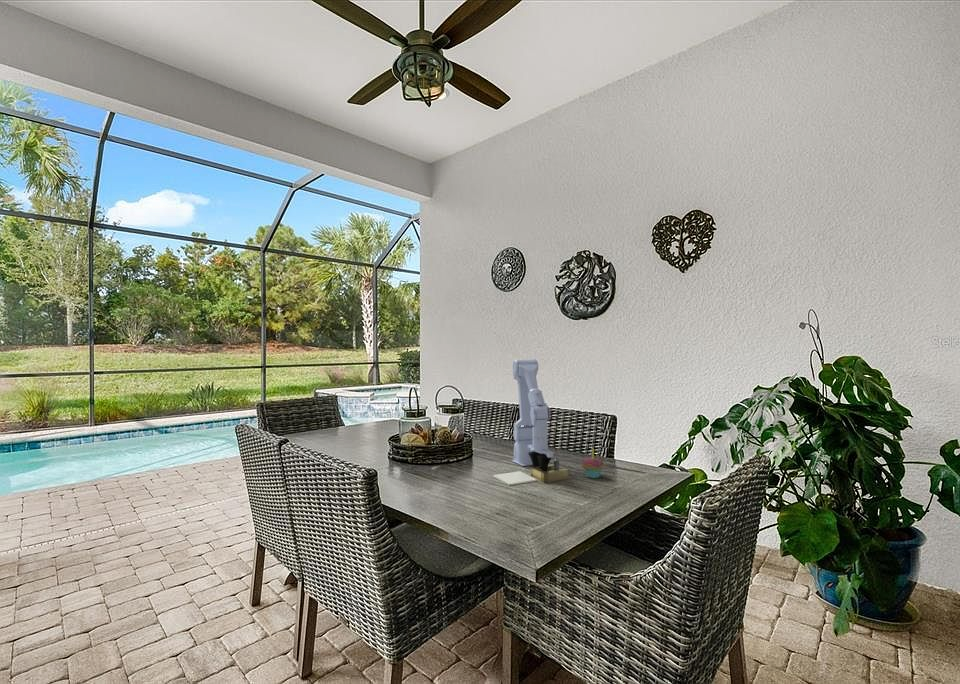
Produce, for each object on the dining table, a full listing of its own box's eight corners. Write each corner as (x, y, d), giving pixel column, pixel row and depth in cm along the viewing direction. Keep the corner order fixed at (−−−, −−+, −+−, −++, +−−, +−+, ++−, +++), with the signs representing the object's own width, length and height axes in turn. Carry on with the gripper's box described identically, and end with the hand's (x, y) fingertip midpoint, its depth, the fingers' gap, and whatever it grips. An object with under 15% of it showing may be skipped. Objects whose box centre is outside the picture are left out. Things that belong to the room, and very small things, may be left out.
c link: (530, 476, 176) (530, 467, 176) (554, 472, 181) (554, 463, 181) (543, 482, 168) (543, 473, 168) (568, 478, 173) (568, 469, 173)
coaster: (493, 476, 175) (493, 475, 175) (519, 472, 181) (519, 471, 181) (508, 485, 165) (508, 484, 165) (536, 481, 170) (536, 479, 170)
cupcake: (605, 480, 171) (605, 447, 171) (581, 479, 172) (581, 447, 172) (602, 473, 180) (602, 442, 180) (580, 472, 181) (580, 442, 181)
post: (552, 475, 176) (552, 458, 176) (557, 475, 177) (557, 458, 177) (555, 477, 174) (555, 460, 174) (560, 476, 175) (560, 459, 175)
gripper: (521, 434, 181) (521, 468, 181) (541, 441, 168) (542, 478, 168) (536, 432, 184) (536, 466, 185) (557, 439, 171) (557, 476, 172)
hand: (540, 472), depth 177 cm, fingers open, 4 cm apart
